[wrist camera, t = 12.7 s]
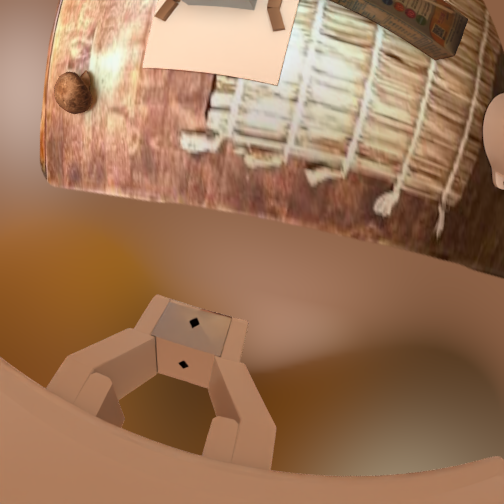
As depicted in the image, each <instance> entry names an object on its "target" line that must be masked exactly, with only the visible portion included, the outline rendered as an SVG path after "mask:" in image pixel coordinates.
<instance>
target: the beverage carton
mask: <svg viewBox="0 0 504 504" xmlns="http://www.w3.org/2000/svg"><path fill="white" fill-rule="evenodd" d="M330 1H333V2H335V3H337V4H340V5H342V6H344V7H346V8H348V9H350V10H352V11H354V12H357V13H359V14H361V15H363V16H365V17H367V18H369V19H370V20H372V21H374V22H376V23H378V24H380V25H381V26H383V27H385V28H387V29H388V30H390V31H392V32H393V33H395V34H397V35H398V36H400V37H402V38H403V39H405V40H406V41H408V42H410V43H411V44H413V45H414V46H416V47H417V48H419V49H420V50H422V51H423V52H425V53H426V54H428V55H429V56H431V57H432V58H433V59H435V60H438V59H443V58H448V57H452V56H455V54H456V51H457V49H458V46H459V44H460V41H461V39H462V36H463V32H464V29H465V27H466V24H467V21H468V19H467V18H466V17H464V16H463V15H462V14H461V13H460V12H459V11H457V10H456V9H455V8H453V7H452V6H450V5H449V4H448V3H446V2H445V1H444V0H330Z"/></svg>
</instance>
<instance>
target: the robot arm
mask: <svg viewBox="0 0 504 504" xmlns="http://www.w3.org/2000/svg"><path fill="white" fill-rule="evenodd" d="M483 141H484V147H485V151H486V154H487V157H488V160H489V162H490V164H491V168H492V179H493V184H494V186H495V187H497V188H500V189H503V190H504V183H503V181H504V93H502V94H499V95H498V96H496V97H495V98H494V99H493V100H492V101H491V103H490V104H489V106H488V108H487V111H486V114H485V118H484V124H483ZM248 324H249V323H248V321H246V320H243V319H239V318H235V317H233V318H232V317H231V316H227V315H223V314H220V313H216V312H212V311H209V310H205V309H200V308H197V307H194V306H191V305H188V304H185V303H182V302H179V301H176V300H173V299H169V298H166V297H163V296H160V295H156V296H154V297H153V299H152V300H151V302H150V304H149V305H148V307H147V308H146V310H145V312H144V313H143V315H142V316H141V318H140V320H139V321H138V323H137V325H136V326H135V328H134V329H131V328H128V329H126V330H123V331H121V332H119V333H117V334H115V335H113V336H110V337H108V338H106V339H104V340H102V341H100V342H97V343H95V344H93V345H91V346H89V347H87V348H84V349H82V350H80V351H78V352H76V353H73V354H71V355H69V356H67V357H66V359H65V361H64V362H63V364H62V365H61V366H60V368H59V369H58V371H57V372H56V374H55V375H54V377H53V378H52V380H51V382H50V383H49V385H48V386H47V388H44V387H42V386H41V385H39V384H38V383H36V382H35V381H33V380H32V379H30V378H29V377H27V376H25V375H24V374H23V373H21V372H20V371H18V370H17V369H16V368H14V367H13V366H12V365H10V364H9V363H8V362H6V361H5V360H4V359H2V358H1V357H0V504H504V460H503V459H502V458H501V457H499V456H494V457H489V458H486V459H482V460H478V461H474V462H470V463H466V464H462V465H457V466H453V467H448V468H442V469H436V470H429V471H423V472H415V473H406V474H396V475H380V476H323V475H308V474H297V473H288V472H280V471H272V470H270V469H271V463H272V456H273V449H274V442H275V434H276V426H275V424H274V422H273V420H272V418H271V416H270V414H269V412H268V410H267V408H266V406H265V404H264V403H263V400H262V399H261V396H260V395H259V392H258V390H257V388H256V386H255V384H254V382H253V380H252V378H251V376H250V374H249V372H248V370H247V368H246V366H245V364H244V363H240V359H241V354H242V350H243V346H244V341H245V337H246V333H247V328H248ZM157 372H158V373H161V374H164V375H167V376H170V377H174V378H177V379H180V380H184V381H186V382H190V383H192V384H195V385H199V386H202V387H205V388H208V391H209V394H210V397H211V401H212V404H213V407H214V409H215V413H216V416H217V417H216V418H214V419H213V420H212V423H211V427H210V430H209V433H208V437H207V440H206V444H205V447H204V450H203V454H202V456H200V455H196V454H192V453H189V452H186V451H182V450H179V449H176V448H173V447H169V446H167V445H164V444H161V443H158V442H155V441H153V440H150V439H147V438H144V437H142V436H139V435H137V434H134V433H132V432H129V431H127V430H125V429H122V428H121V427H122V424H123V422H124V420H125V418H124V415H123V413H122V410H121V407H120V405H119V402H118V400H119V399H121V398H122V397H124V396H125V395H126V394H128V393H130V392H131V391H133V390H134V389H136V388H137V387H139V386H140V385H142V384H143V383H145V382H146V381H147V380H149V379H150V378H152V377H153V376H155V375H156V374H157Z"/></svg>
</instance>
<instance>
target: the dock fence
mask: <svg viewBox="0 0 504 504" xmlns="http://www.w3.org/2000/svg"><path fill="white" fill-rule="evenodd" d="M177 2H180V0H166V1H165V2H164V4H163V5H162V6H161V8H160V9H159V10H158V12H157V13H156V14H155V17H157V18H159V19H161V20H163V21H166V20H167V19H168V17H169V16H170V15H171V14H172V12H173V11H174V10H175V8H176V7H177V6H178V5H179V4H178V3H177ZM281 3H282V0H268V4H267V11H268V14H269V18H270V22H271V25H272V29H273V32H274V31H280V30H285V26H284V23H283V19H282V16H281V12H280V7H281Z"/></svg>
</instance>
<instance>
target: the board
mask: <svg viewBox="0 0 504 504" xmlns="http://www.w3.org/2000/svg"><path fill="white" fill-rule="evenodd" d="M165 1H166V0H158V3H157V6H156V10H155V14H156V13H157V12H158V10H159V9H160V8H161V6H162V5H163V4H164V2H165ZM177 3H178V4H179V5H178V6H177V7H176V8H175V10H174V11H173V12H172V14H171V15H170V16H169V17H168V19H167V20H166V21H163V20H161V19H159V18H157V17H155V14H154V17H153V21H152V25H151V30H150V34H149V38H148V43H147V47H146V52H145V57H144V62H143V67H142V68H159V69H174V70H186V71H196V72H204V73H212V74H219V75H226V76H232V77H238V78H244V79H249V80H254V81H259V82H264V83H269V84H273V85H278V82H279V78H280V74H281V70H282V66H283V62H284V58H285V54H286V50H287V46H288V42H289V38H290V34H291V30H292V26H293V23H294V19H295V15H296V11H297V7H298V3H299V0H282V3H281V7H280V12H281V16H282V19H283V23H284V26H285V30H280V31H274V32H273V29H272V25H271V22H270V18H269V14H268V11H267V4H268V0H257V2H256V6H255V9H254V10H248V9H240V8H230V7H218V6H200V5H187V4H186V3H185V2H183V1H182V0H180V2H177Z"/></svg>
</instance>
